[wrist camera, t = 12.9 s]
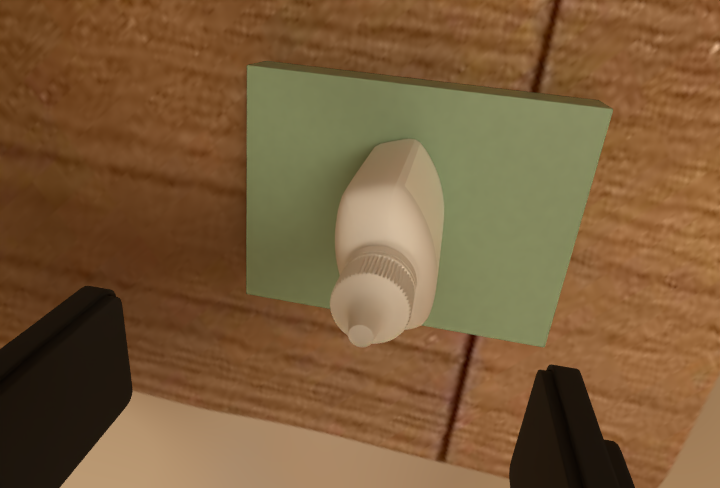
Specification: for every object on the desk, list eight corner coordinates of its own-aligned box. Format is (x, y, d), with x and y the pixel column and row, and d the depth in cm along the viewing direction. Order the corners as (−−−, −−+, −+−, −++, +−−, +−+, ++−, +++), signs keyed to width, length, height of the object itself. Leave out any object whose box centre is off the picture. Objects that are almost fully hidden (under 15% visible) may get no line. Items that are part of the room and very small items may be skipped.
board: (265, 60, 26) (246, 64, 24) (599, 100, 24) (613, 108, 22) (261, 273, 31) (245, 294, 29) (538, 322, 29) (544, 348, 27)
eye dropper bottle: (473, 156, 23) (479, 275, 13) (430, 261, 26) (404, 438, 15) (381, 124, 24) (308, 215, 13) (347, 232, 26) (263, 386, 15)
